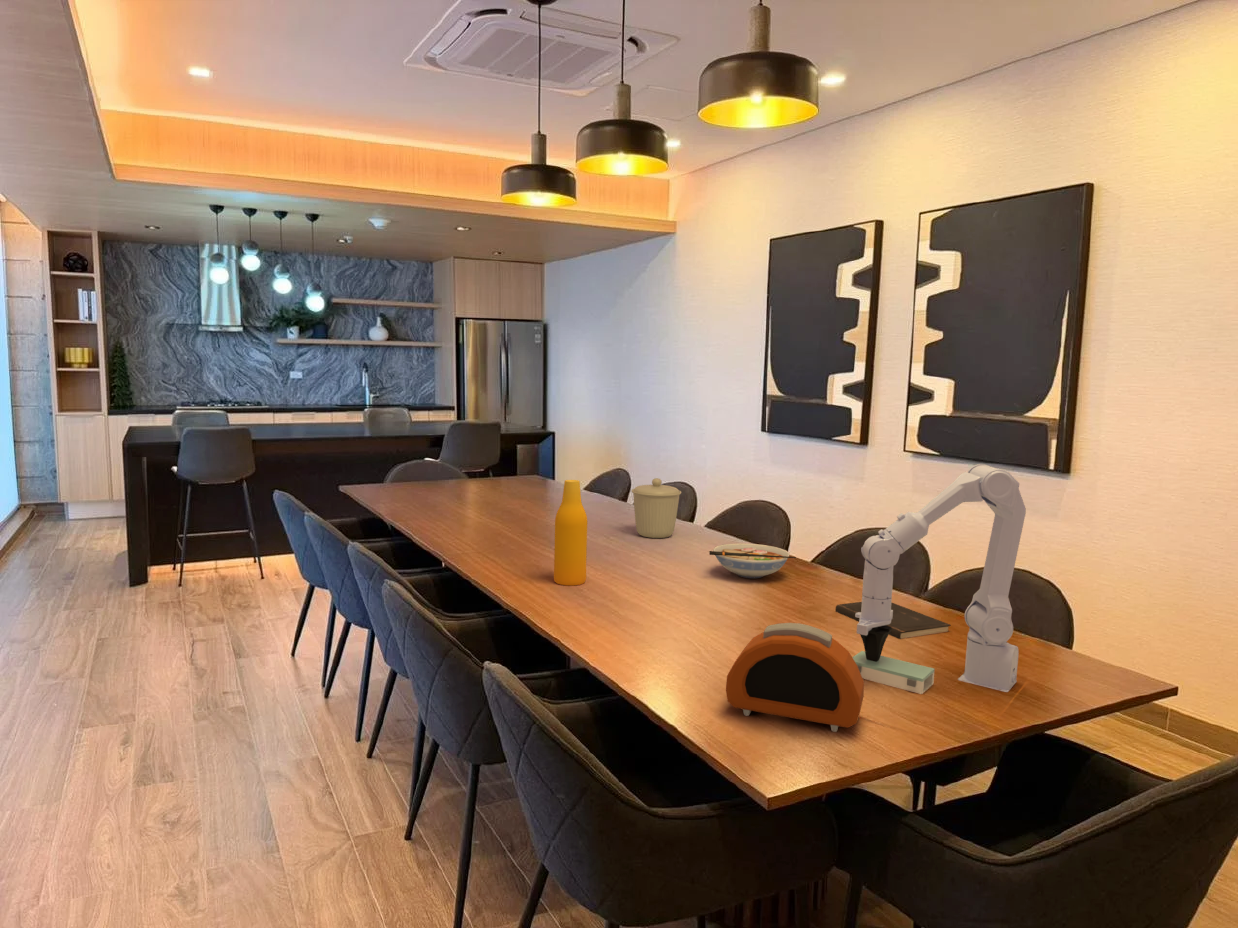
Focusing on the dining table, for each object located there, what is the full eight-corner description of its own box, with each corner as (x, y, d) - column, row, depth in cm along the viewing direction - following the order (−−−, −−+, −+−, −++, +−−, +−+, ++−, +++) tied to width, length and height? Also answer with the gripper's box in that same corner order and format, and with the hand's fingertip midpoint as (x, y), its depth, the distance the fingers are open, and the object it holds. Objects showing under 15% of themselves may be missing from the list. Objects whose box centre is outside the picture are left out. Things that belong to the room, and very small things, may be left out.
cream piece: (933, 686, 165) (934, 671, 164) (920, 697, 159) (921, 682, 158) (860, 667, 174) (861, 653, 174) (846, 677, 168) (847, 663, 168)
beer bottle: (566, 587, 228) (569, 484, 225) (547, 580, 235) (548, 479, 232) (592, 582, 234) (595, 481, 231) (572, 575, 241) (574, 477, 238)
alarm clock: (723, 713, 149) (727, 623, 147) (735, 695, 158) (739, 610, 156) (857, 737, 141) (864, 643, 139) (862, 717, 149) (868, 627, 147)
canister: (626, 539, 294) (628, 480, 291) (634, 529, 311) (635, 473, 309) (677, 542, 291) (679, 483, 288) (681, 532, 309) (684, 476, 306)
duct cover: (934, 671, 164) (934, 668, 164) (922, 681, 159) (923, 678, 159) (861, 653, 174) (861, 650, 173) (848, 662, 168) (848, 659, 168)
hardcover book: (882, 607, 221) (883, 598, 220) (949, 633, 200) (950, 624, 200) (834, 613, 214) (835, 604, 214) (899, 641, 193) (900, 631, 193)
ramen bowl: (788, 568, 258) (789, 542, 257) (796, 588, 235) (798, 559, 234) (707, 564, 260) (709, 538, 259) (708, 583, 238) (709, 555, 237)
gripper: (871, 585, 175) (867, 646, 177) (843, 599, 164) (839, 665, 165) (904, 591, 171) (899, 654, 172) (878, 606, 159) (874, 674, 161)
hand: (872, 660), depth 168 cm, fingers closed, pressing on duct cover
